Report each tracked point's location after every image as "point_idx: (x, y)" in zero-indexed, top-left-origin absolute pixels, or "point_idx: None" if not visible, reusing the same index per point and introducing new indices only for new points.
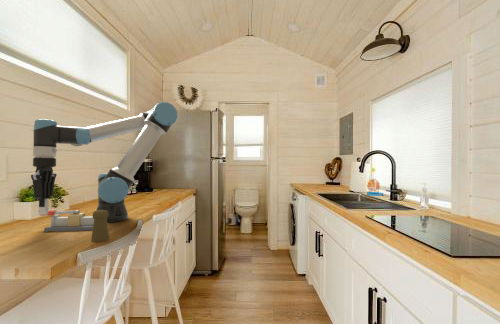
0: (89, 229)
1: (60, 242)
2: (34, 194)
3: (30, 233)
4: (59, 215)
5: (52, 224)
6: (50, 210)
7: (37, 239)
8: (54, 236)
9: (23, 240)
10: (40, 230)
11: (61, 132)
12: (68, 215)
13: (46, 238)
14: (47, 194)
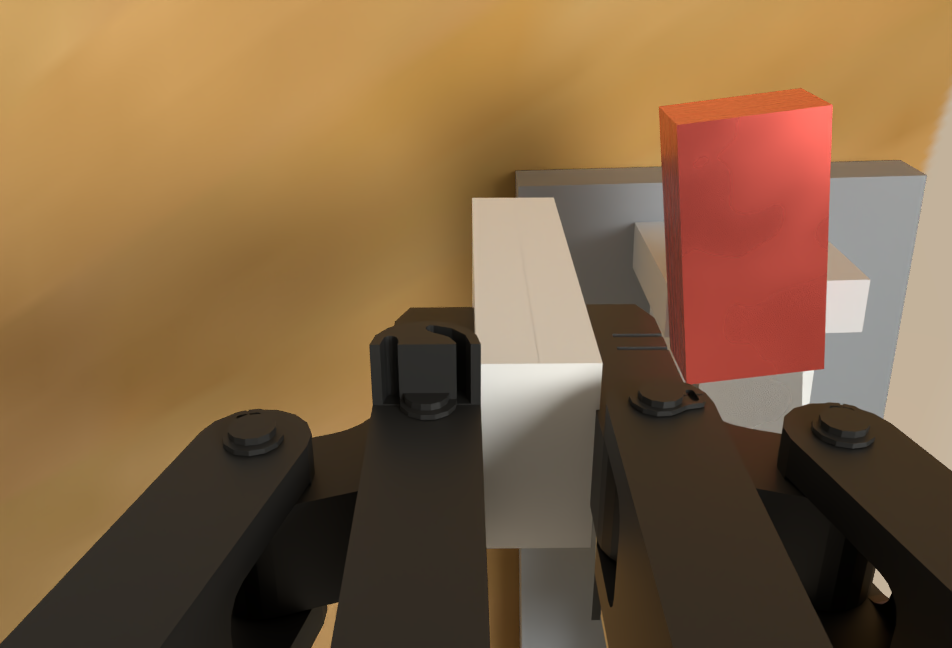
0: None
1: (12, 612)
2: (149, 488)
3: (444, 7)
4: (853, 323)
5: (640, 254)
6: (823, 254)
7: (114, 316)
8: None
9: (58, 166)
10: (631, 49)
11: None
12: None
13: (162, 395)
14: (603, 616)
